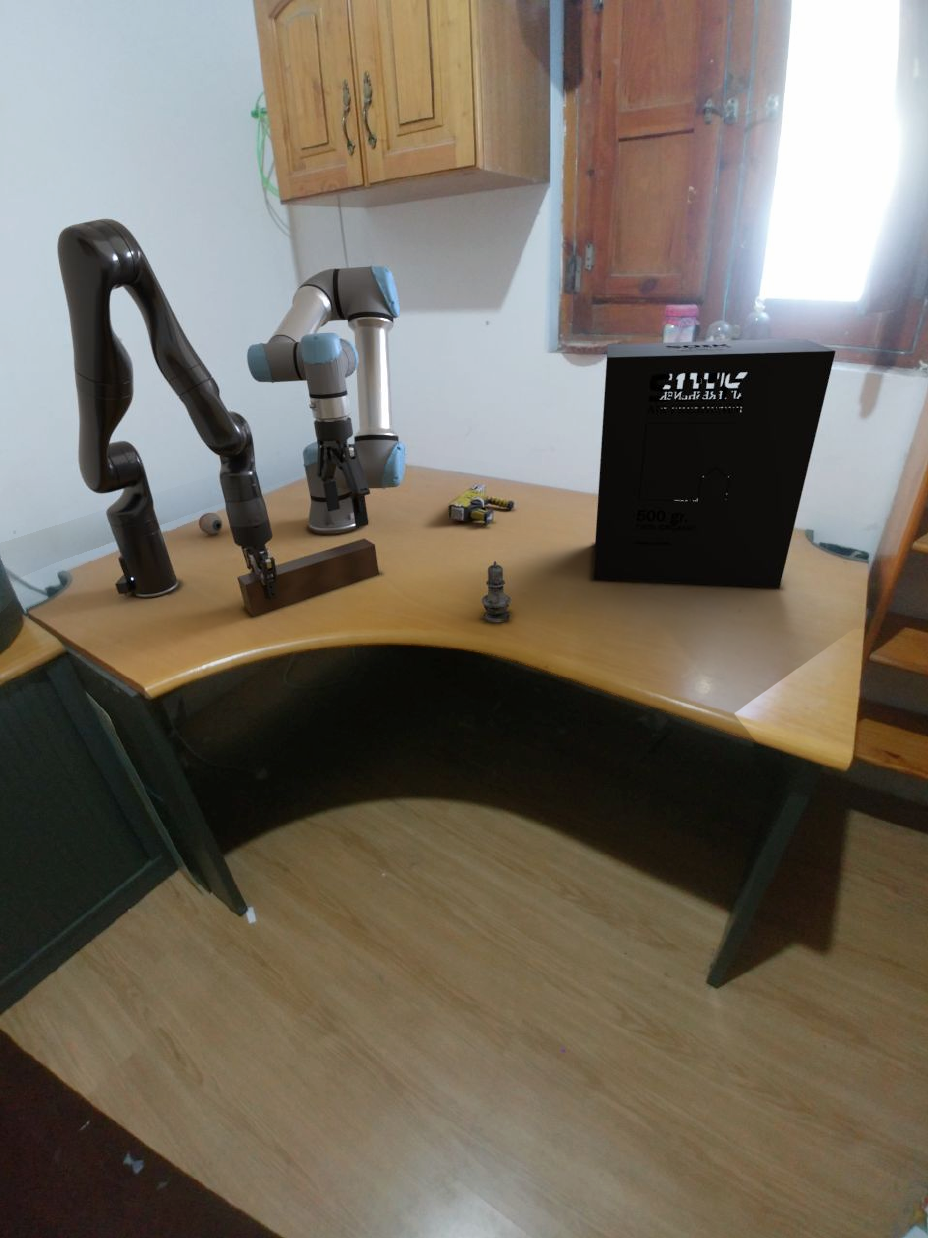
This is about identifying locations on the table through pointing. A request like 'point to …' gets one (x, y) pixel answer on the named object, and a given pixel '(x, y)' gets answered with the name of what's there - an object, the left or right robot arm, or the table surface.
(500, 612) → the grey tall turned piece
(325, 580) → the plank
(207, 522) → the eyeball
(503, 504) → the toy gun
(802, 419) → the cardboard box
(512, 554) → the table surface
